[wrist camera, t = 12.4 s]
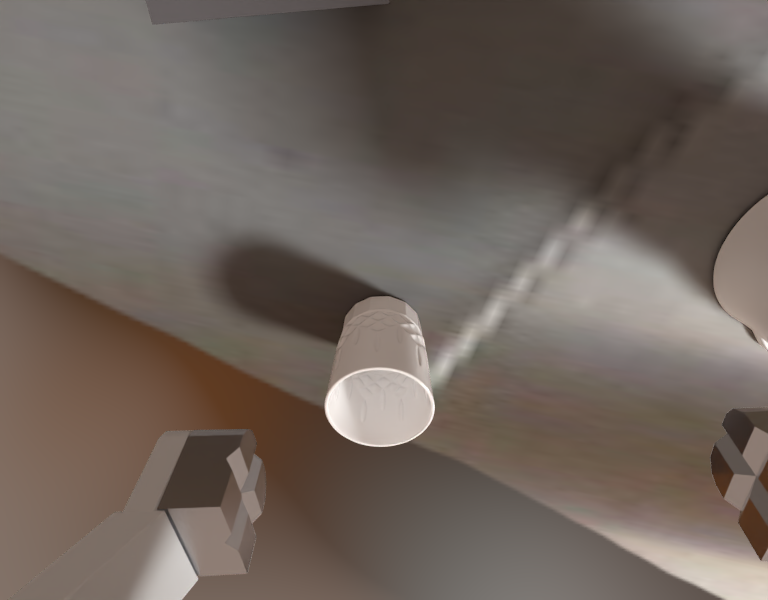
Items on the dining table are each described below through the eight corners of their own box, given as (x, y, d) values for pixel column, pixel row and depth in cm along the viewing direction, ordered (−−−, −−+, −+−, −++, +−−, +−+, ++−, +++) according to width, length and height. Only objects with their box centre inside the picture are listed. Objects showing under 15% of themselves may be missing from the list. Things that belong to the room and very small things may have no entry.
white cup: (417, 367, 49) (421, 453, 41) (332, 355, 48) (319, 440, 40) (436, 296, 45) (445, 376, 36) (342, 282, 44) (331, 360, 36)
